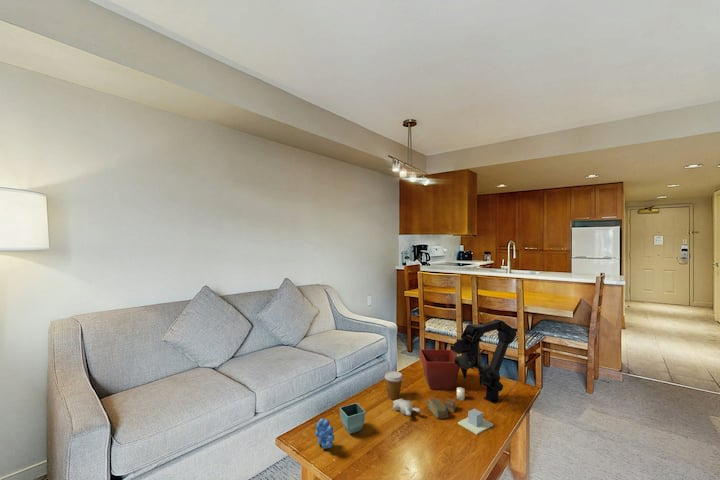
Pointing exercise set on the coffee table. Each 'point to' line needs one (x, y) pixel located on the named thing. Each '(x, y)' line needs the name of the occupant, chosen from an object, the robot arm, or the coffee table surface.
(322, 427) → the grapes
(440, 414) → the stone block
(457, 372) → the plant pot
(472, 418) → the slate-blue block
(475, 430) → the felt mat
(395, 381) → the disposable coffee cup
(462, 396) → the ivory rounded cylinder
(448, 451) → the coffee table surface
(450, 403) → the walnut cube
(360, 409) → the flower pot
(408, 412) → the bunny figurine
